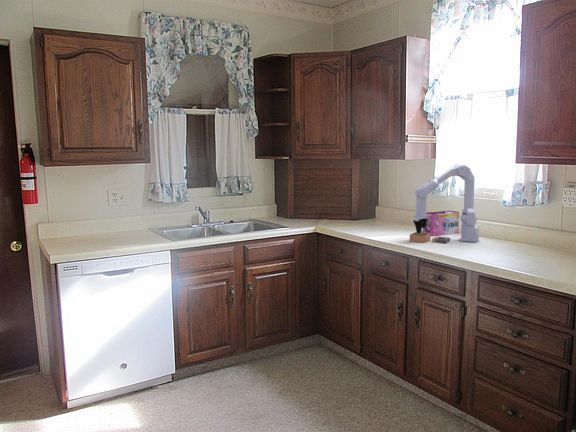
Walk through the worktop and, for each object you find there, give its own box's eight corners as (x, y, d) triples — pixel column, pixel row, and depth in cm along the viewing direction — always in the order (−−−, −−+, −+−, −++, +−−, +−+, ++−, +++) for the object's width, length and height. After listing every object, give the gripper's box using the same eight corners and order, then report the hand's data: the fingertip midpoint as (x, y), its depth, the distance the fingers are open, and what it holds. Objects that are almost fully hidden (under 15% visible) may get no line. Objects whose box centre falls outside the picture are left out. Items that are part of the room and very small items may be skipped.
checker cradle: (450, 241, 289) (450, 237, 289) (446, 243, 283) (446, 239, 282) (436, 239, 294) (436, 236, 293) (432, 242, 287) (432, 238, 287)
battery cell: (423, 239, 291) (424, 226, 290) (422, 240, 289) (422, 227, 288) (418, 239, 293) (418, 226, 292) (416, 239, 290) (417, 227, 289)
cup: (430, 240, 292) (430, 233, 292) (425, 242, 284) (425, 235, 284) (414, 238, 297) (415, 232, 297) (409, 241, 289) (409, 234, 289)
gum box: (430, 236, 304) (431, 214, 302) (421, 234, 311) (422, 213, 309) (458, 233, 316) (459, 211, 314) (449, 231, 322) (449, 210, 320)
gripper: (418, 206, 296) (417, 229, 298) (409, 209, 284) (409, 233, 286) (430, 207, 293) (429, 230, 294) (422, 210, 281) (421, 234, 282)
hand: (420, 232), depth 290 cm, fingers open, 5 cm apart
